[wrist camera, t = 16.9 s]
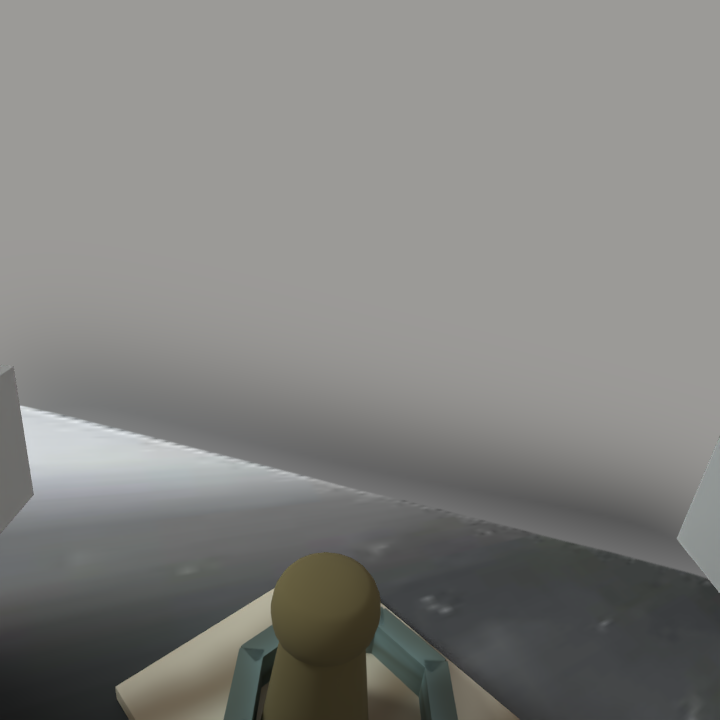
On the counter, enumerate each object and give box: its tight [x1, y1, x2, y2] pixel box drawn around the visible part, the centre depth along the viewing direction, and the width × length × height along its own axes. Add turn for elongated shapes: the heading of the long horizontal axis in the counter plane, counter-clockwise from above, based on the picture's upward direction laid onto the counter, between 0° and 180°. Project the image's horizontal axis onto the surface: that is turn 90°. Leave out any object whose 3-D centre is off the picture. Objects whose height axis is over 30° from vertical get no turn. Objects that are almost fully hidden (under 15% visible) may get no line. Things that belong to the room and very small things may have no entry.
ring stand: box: [115, 588, 520, 720], centre depth 30 cm, size 20×16×4 cm
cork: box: [261, 552, 381, 720], centre depth 27 cm, size 6×6×11 cm
